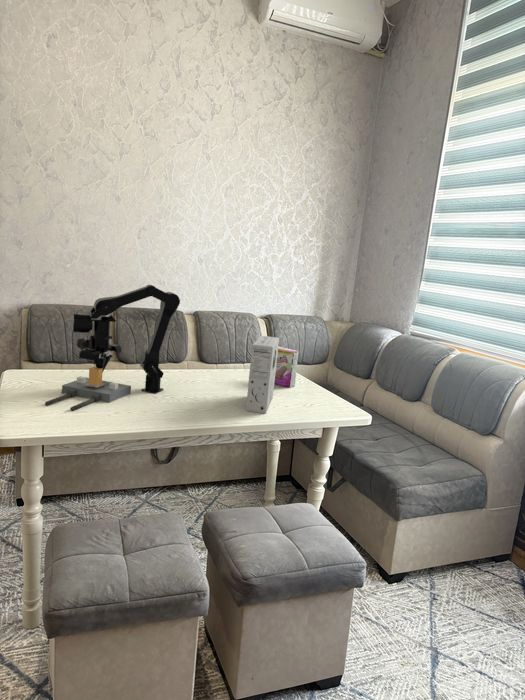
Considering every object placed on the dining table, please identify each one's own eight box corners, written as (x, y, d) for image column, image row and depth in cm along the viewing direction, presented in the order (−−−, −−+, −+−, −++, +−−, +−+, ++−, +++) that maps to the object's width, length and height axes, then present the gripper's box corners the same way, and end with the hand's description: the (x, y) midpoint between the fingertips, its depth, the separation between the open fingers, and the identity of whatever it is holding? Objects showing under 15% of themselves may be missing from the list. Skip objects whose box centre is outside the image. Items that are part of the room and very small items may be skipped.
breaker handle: (93, 382, 191) (94, 366, 190) (105, 384, 189) (105, 368, 188) (85, 385, 186) (85, 368, 185) (97, 387, 185) (97, 370, 183)
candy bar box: (268, 382, 229) (272, 347, 226) (274, 381, 233) (277, 346, 230) (289, 388, 224) (293, 352, 220) (295, 386, 228) (299, 350, 225)
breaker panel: (85, 384, 199) (85, 372, 198) (130, 393, 194) (131, 380, 193) (58, 394, 184) (58, 381, 183) (106, 404, 178) (107, 390, 177)
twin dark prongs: (73, 394, 185) (73, 391, 185) (100, 400, 182) (100, 396, 182) (43, 405, 171) (44, 401, 170) (72, 411, 168) (73, 407, 167)
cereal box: (254, 395, 207) (260, 335, 202) (272, 397, 206) (279, 337, 202) (245, 411, 186) (252, 344, 181) (266, 413, 185) (273, 346, 181)
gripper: (97, 327, 198) (96, 365, 201) (66, 333, 180) (65, 375, 183) (123, 331, 195) (121, 370, 198) (93, 337, 177) (92, 380, 180)
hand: (100, 373), depth 190 cm, fingers closed
